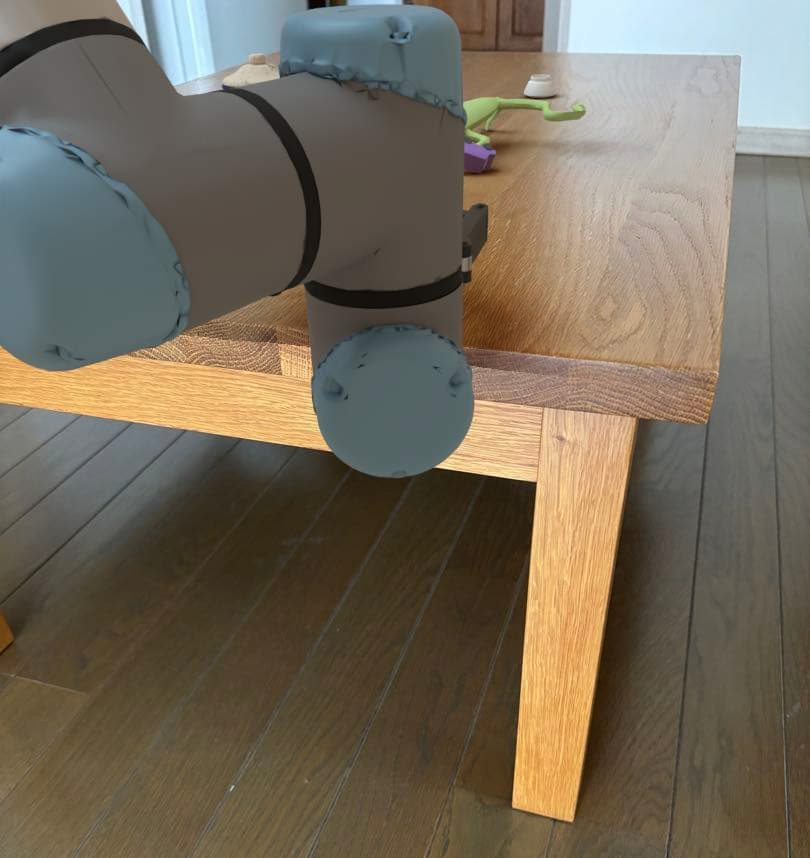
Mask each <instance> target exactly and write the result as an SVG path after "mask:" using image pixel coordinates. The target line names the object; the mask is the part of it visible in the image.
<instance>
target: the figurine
mask: <svg viewBox="0 0 810 858" xmlns="http://www.w3.org/2000/svg"><path fill="white" fill-rule="evenodd" d="M463 107H464V109H465V110H466V113H467V119H468V120H467V125H466V126H465V145H464V171H467V172H471V173H477V174H481V173H482V172H483V171H490V169H491V167H492V164H493V162H494V159H495V157H496V155H497V150H496V149H493V145H492V144H491V139H490V137H489V136H487V135H484V134H481V133H479V132H475V131H473V130H475V129H476V128H478V127H479V126H481V125H482V124H484V123H485V122H486V123H485V131H488V130H489V128H490V126H491V124H492V123H493V121H494V120H495V119H496V117H497V116H498V115H500V113H501V112H502V111H503V110H531V111H532V110H533V111H541V112H542V116H543V118H544V120H546V121H548V122H557V123H559V122H569V121H575V120H576V121H577V120H580V119H581V118H583V117H584V116H585V115H586V113H587V111H586V106H585V105H584V104H580V103H575V104H574V105H573V106H572V110H569V111H556V110H555V111H554V110H552V109H551V108H552V106H551V103H550V102H549V101H547V100H540V99H530V98H506V99H505V98H504V97H500V96H495V97H492V96H491V97H487V96H486V97H485V96H484V97H478V98H473V99H469V100H466V101H463Z"/></svg>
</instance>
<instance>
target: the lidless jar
mask: <svg viewBox="0 0 810 858" xmlns="http://www.w3.org/2000/svg"><path fill="white" fill-rule="evenodd" d="M556 93H557V91H556V87H555V85H554V82H553V81H552V80H551V75H550V74H541V73H540V74H532V75H531V76H530V80H528V82H527V84H526V86H525V88H524V90H523V95H524V96H526V97H527V98H531V99H547V98H550V97H553V96H554V95H556Z"/></svg>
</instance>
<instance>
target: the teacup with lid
mask: <svg viewBox="0 0 810 858" xmlns="http://www.w3.org/2000/svg"><path fill="white" fill-rule="evenodd" d="M247 57H248V58H247V59H248V63H246V64H244V65H242V66H241V67H239V68H238V69H237V70H236V71H235V72H234V73H232V74H230V75H227V76H225V77H224V78H223V79H222V83H221V88H222V90H223V89H230V88H235V87H240V86H245V85H249V84H254V83H259V82H264V81H269V80H274V79H278V78H280V76H279V71H278V66H276V65H275V64H273V63H270V62H266V56H265V54H264V53H261V52H260V53H259V52H256V53H250V54H249V55H248V56H247Z"/></svg>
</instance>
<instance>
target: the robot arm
mask: <svg viewBox="0 0 810 858" xmlns="http://www.w3.org/2000/svg"><path fill="white" fill-rule="evenodd" d="M279 40H280V42H279V46H280V48H279V63H278V64H277V67H278V71H279V76H280V78H278V79H274V80H269V81H264V82H259V83H254V84H249V85H245V86H240V87H235V88H230V89H223V88H222V89H217V90H213V91H212V90H211V91H208V92H204V93H197V94H195V93H194V94H188V95H183V94H181V93H179V92H178V91H177V89H176V87H175V86H174V85H173V83H172V82H171V80H170V79H169V77H168V76H167V74H166V73H165V71H164V70H163V68H162V66H161V65H160V63H159V62H158V61H157V60H156V58H155V57H154V56H153V54H152V52H151V51H150V50H149V48H148V46H147V45H146V43H145V42H144V40H143V39H142V37H141V35H139V33H138V32H137V30H136V29H135V27H134V26H133V24H132V23H131V21H130V19H129V18H128V16H127V15H126V13H125V12H124V10H123V8H122V7H121V5H120V4H119V2H118V1H117V0H0V347H1V348H2V349H4V350H5V351H6V352H7V353H9V354H10V355H11V356H12V357H14V358H15V359H17V360H18V361H20V362H22V363H24V364H26V365H28V366H29V367H30V366H31V367H33V368H35V369H39V370H43V371H48V372H69V371H75V370H78V369H81V368H85V367H88V366H92V365H96V364H99V363H101V362H106V361H108V360H112V359H115V358H118V357H121V356H125V355H129V354H131V353H134V352H138V351H142V350H147V349H155V348H158V347H160V346H162V345H164V344H166V343H167V342H171V341H174V340H175V339H176V338H177V337H179V336H180V335H181V334H184V333H186V332H188V331H191V330H193V329H195V328H198V327H199V326H202V325H204V324H208V323H209V322H212V321H214V320H216V319H218V318H219V319H220V318H221V317H224V316H225V315H228V314H230V313H232V312H235V311H237V310H240V309H242V308H244V307H246V306H249V305H251V304H253V303H256V302H258V301H261V300H263V299H265V298H268V297H271V298H273V297H278V296H280V295H281V294H282V293H283V292H286V291H288V290H291V289H294V288H296V287H299V286H301V285H303V287H304V297H305V306H306V315H307V324H308V325H307V326H308V338H309V347H310V348H309V349H310V358H311V370H312V371H311V372H312V376H311V379H310V389H311V390H310V393H311V403H312V408H313V412H314V414H315V416H316V419H317V426H318V429H319V431H320V434H321V436H322V438H323V441H324V442H325V444H326V446H327V447H328V448H329V449H330V451H331V452H332V453H333V454H334V455H335V456H336V457H337V458H338V459H339V460H340V461H341V462H343V463H344V464H345V465H347V466H348V467H350V468H352V469H354V470H356V471H358V472H360V473H363V474H366V475H369V476H372V477H378V478H394V479H402V478H406V477H412V476H417V475H420V474H423V473H425V472H427V471H429V470H432V469H434V468H435V467H437V466H439V465H440V464H442V463H443V462H445V461H446V460H447V459H448V458H449V457H450V456H452V455H453V454H454V453H455V452H456V451H457V450H458V448H459V447H460V446H461V444H462V443H463V441H464V440H465V439H466V436H467V435H468V432H469V431H470V428H471V426H472V423H473V419H474V414H475V394H474V389H473V384H472V383H473V378H474V377H473V368H472V366H471V365H470V364H468V362H467V361H468V358H467V356H466V354H465V353H464V347H463V327H464V326H463V323H464V321H463V319H464V318H463V315H464V313H463V311H464V285H465V284H468V283H471V282H472V281H473V280H472V279H473V278H472V277H473V273H472V272H473V271H472V270H473V265H474V263H475V261H476V260H477V258H478V256H479V255H480V253H481V251H482V250H483V249H484V246H485V245H486V244H487V242H488V234H489V205H488V204H486V203H482V202H479V203H476V204H475V203H474V204H472V205H471V206H470V207H469V209H468V210H466V209H464V189H465V188H464V183H465V181H464V180H465V170H464V145H465V126H466V125H467V120H468V119H467V113H466V110H465V109H464V107H463V102H464V89H463V88H464V87H463V86H464V85H463V57H462V53H463V52H462V38H461V34H460V29H459V27H458V25H457V23H456V22H455V20H454V19H453V18H452V17H451V16H450V15H449V14H447V13H446V12H445V11H444V10H441V9H439V8H437V7H434V6H427V5H419V4H393V3H392V4H389V3H388V4H387V3H386V4H384V3H380V4H379V3H378V4H377V3H376V4H374V3H373V4H355V5H354V4H351V5H338V6H337V5H336V6H327V7H317V8H313V9H312V8H309V9H307V10H303V11H302V12H301V11H300V12H297V13H293V14H292V15H291V16H289V17H288V18H287V19H286V20H285V21H284V22H283V24H282V27H281V30H280V39H279Z"/></svg>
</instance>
